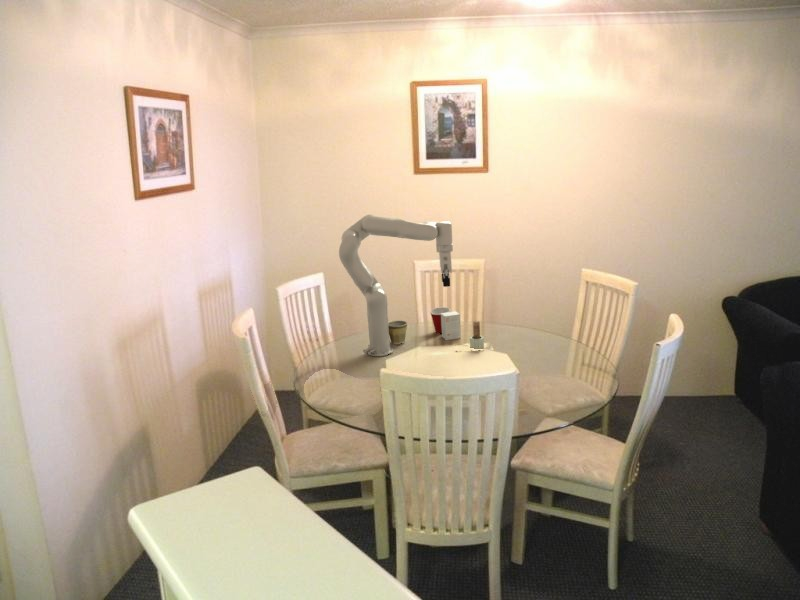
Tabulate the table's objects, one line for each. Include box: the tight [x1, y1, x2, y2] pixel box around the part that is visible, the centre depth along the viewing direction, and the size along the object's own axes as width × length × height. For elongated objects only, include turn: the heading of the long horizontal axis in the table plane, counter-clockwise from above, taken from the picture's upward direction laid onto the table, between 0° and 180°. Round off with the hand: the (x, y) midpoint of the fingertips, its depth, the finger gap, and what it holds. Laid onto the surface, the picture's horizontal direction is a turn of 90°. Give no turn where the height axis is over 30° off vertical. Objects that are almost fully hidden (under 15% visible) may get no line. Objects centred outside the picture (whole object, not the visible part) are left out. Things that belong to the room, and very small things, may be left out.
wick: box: [472, 320, 481, 339], centre depth 302 cm, size 3×3×12 cm
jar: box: [469, 335, 485, 349], centre depth 303 cm, size 7×7×5 cm
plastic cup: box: [429, 306, 451, 334], centre depth 332 cm, size 11×11×12 cm
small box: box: [441, 310, 462, 341], centre depth 320 cm, size 8×6×13 cm
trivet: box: [452, 341, 494, 351], centre depth 305 cm, size 18×12×1 cm, turn 89°
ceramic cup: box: [388, 320, 408, 345], centre depth 321 cm, size 13×10×10 cm
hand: (446, 284), depth 305 cm, fingers open, 9 cm apart
